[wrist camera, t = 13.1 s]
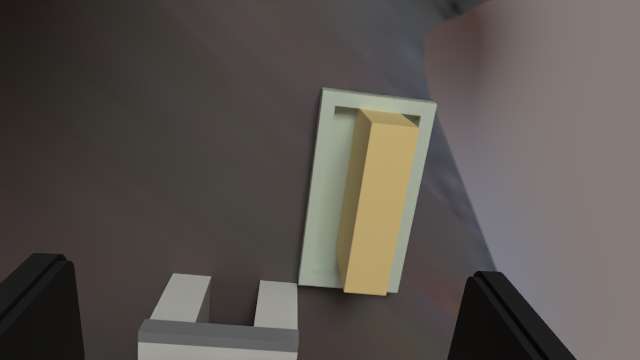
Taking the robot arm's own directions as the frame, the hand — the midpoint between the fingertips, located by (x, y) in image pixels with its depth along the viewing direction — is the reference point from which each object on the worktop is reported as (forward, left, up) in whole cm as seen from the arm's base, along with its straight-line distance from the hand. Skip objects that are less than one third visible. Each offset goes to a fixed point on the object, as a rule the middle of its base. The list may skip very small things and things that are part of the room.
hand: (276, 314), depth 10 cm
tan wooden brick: (+4, +6, -24) cm, 25 cm away
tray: (+5, +6, -24) cm, 25 cm away
